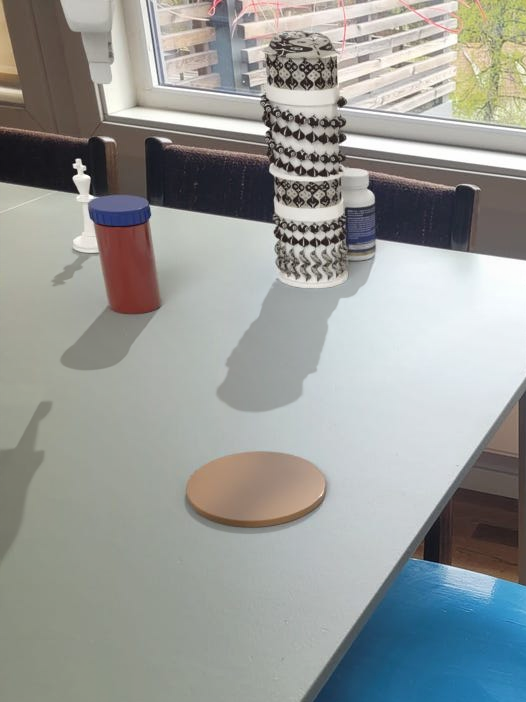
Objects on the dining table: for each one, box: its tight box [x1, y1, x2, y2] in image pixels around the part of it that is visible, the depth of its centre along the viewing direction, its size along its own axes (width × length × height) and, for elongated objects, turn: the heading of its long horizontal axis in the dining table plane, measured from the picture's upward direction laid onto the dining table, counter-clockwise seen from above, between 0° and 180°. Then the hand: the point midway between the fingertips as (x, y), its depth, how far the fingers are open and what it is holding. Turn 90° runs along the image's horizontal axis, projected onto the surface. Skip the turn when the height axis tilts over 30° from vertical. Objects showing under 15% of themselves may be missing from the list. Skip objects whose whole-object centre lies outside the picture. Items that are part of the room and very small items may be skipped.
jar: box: [93, 219, 163, 315], centre depth 106 cm, size 6×6×10 cm
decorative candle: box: [259, 30, 349, 290], centre depth 111 cm, size 9×9×25 cm
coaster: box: [185, 450, 327, 528], centre depth 80 cm, size 11×11×1 cm
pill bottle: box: [341, 167, 377, 262], centre depth 123 cm, size 5×5×10 cm
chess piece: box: [72, 158, 99, 254], centre depth 120 cm, size 5×5×10 cm
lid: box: [88, 194, 152, 226], centre depth 103 cm, size 6×6×1 cm
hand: (104, 72), depth 96 cm, fingers open, 8 cm apart
